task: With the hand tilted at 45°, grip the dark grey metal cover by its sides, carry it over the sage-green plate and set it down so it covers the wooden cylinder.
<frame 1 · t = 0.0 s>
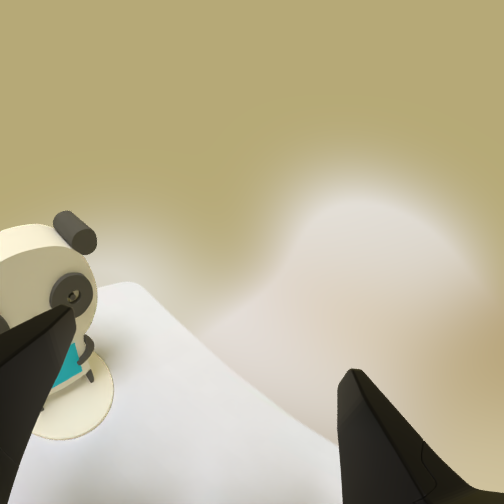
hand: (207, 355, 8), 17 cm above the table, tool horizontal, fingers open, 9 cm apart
panda figurine: (53, 388, 20), on the table
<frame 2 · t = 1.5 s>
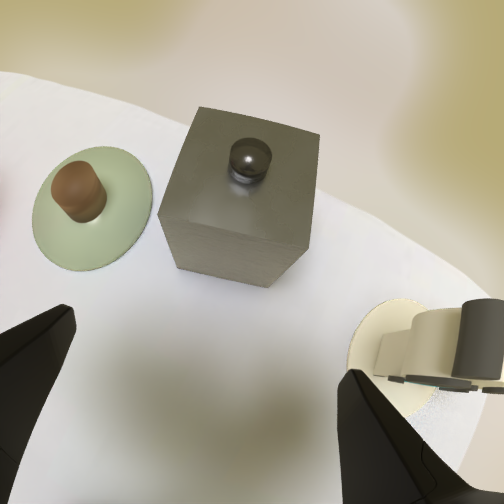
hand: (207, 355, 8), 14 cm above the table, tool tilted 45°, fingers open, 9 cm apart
wooden cylinder: (86, 201, 22), point 1 cm above the table, touching plate
plate: (88, 204, 23), on the table
panda figurine: (396, 359, 23), on the table
cover: (231, 235, 24), on the table
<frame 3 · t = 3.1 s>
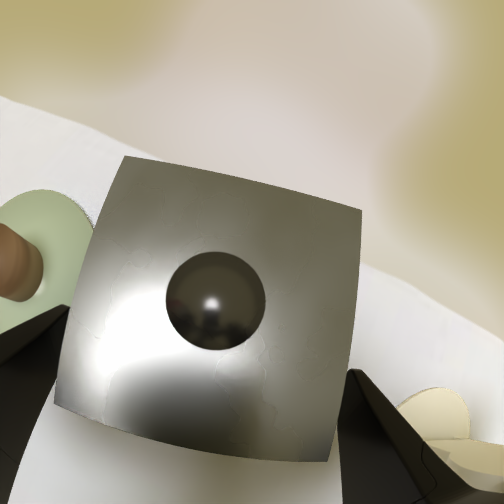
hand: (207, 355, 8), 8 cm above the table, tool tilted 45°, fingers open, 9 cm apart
wooden cylinder: (20, 271, 15), point 1 cm above the table, touching plate
plate: (25, 274, 15), on the table
panda figurine: (416, 456, 15), on the table
cover: (210, 328, 16), on the table
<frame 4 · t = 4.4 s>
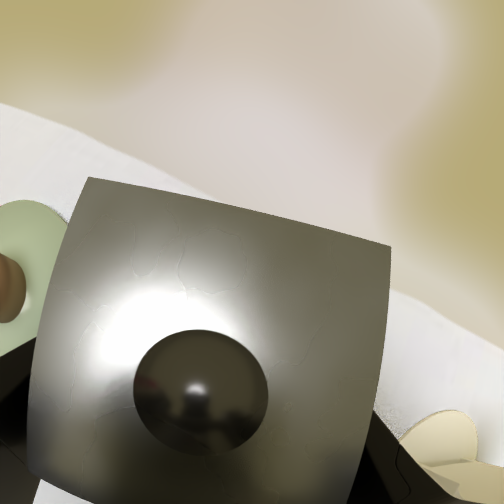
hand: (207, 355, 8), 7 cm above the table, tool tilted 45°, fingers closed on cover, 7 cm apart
wooden cylinder: (3, 290, 13), point 1 cm above the table, touching plate
plate: (8, 292, 13), on the table
panda figurine: (422, 479, 13), on the table
cover: (206, 356, 14), on the table, touching gripper
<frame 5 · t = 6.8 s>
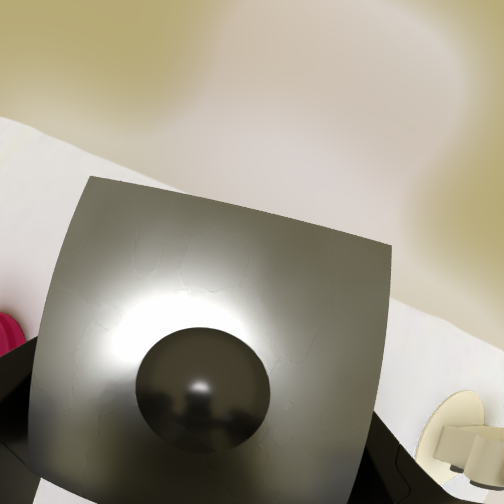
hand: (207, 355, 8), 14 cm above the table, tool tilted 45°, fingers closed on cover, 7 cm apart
pepper mill: (4, 347, 18), on the table
panda figurine: (449, 439, 21), on the table
cover: (207, 356, 14), point 7 cm above the table, touching gripper
when the fingers open (8 cm above the table, at t = 9.3 s): cover drops 1 cm, resting on plate.
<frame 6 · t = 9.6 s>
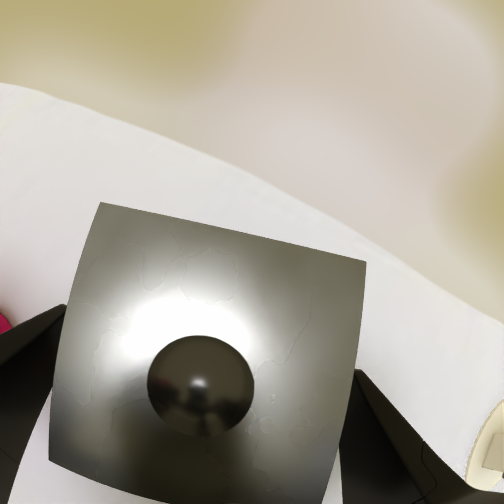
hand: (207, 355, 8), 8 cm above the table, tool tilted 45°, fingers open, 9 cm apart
panda figurine: (495, 446, 16), on the table
cover: (206, 356, 16), point 1 cm above the table, touching plate
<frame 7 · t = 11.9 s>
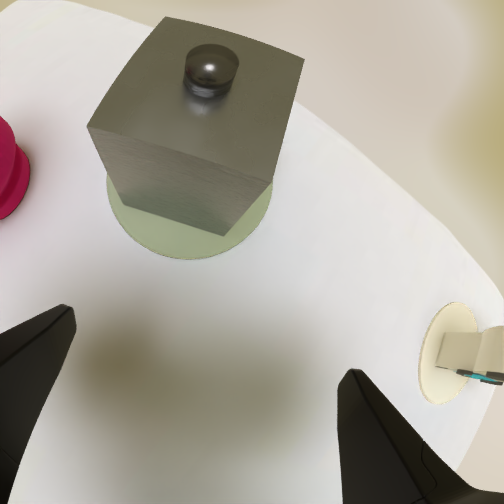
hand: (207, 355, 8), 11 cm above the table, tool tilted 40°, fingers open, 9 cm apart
plate: (189, 175, 20), on the table
pepper mill: (1, 184, 16), on the table
panda figurine: (448, 353, 25), on the table
cover: (189, 173, 20), point 1 cm above the table, touching plate
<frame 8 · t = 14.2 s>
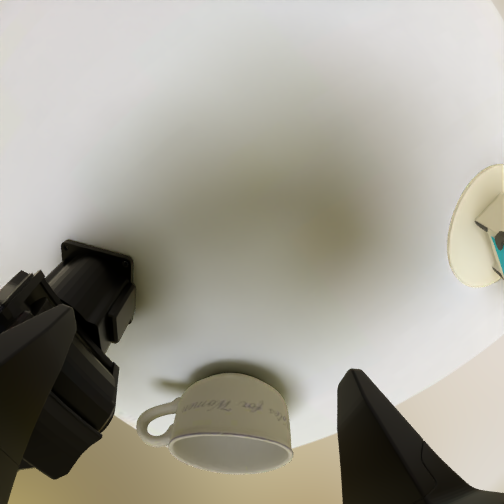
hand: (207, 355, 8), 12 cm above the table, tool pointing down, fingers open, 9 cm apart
panda figurine: (492, 225, 19), on the table
teacup: (220, 387, 27), on the table
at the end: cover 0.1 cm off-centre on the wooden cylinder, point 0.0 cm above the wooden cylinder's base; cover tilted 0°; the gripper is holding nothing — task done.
